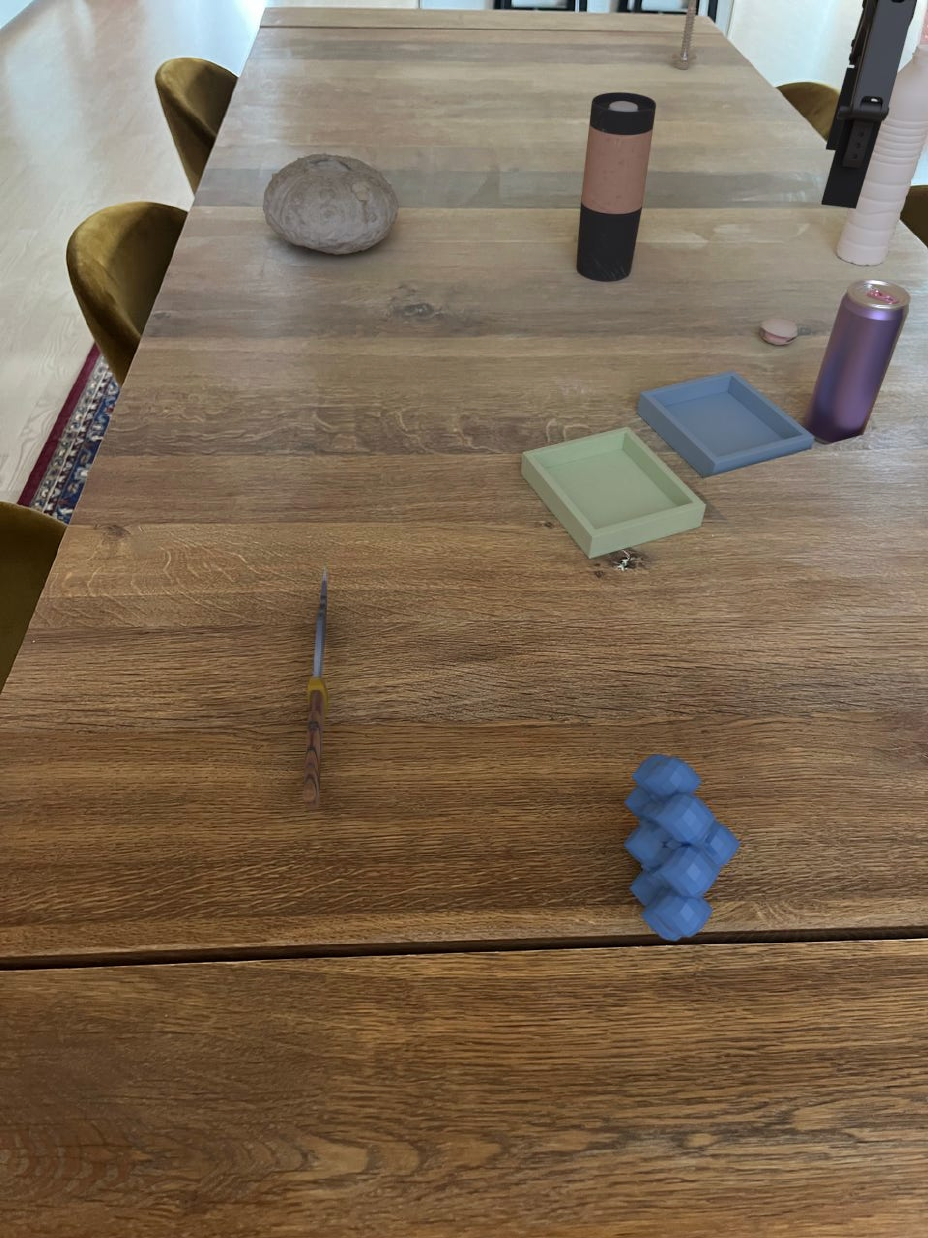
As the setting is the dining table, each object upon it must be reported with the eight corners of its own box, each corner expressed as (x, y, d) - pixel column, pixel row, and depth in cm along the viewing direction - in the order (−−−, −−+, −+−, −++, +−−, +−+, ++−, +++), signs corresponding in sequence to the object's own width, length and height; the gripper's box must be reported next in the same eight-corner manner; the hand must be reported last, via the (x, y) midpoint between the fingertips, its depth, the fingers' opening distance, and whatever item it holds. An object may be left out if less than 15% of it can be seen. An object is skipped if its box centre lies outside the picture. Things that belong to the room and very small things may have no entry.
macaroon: (751, 338, 110) (756, 318, 109) (777, 325, 113) (782, 306, 111) (781, 353, 108) (786, 332, 106) (807, 339, 110) (813, 319, 109)
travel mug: (563, 263, 124) (578, 96, 110) (611, 252, 127) (632, 88, 113) (594, 287, 119) (615, 115, 105) (644, 275, 122) (670, 106, 108)
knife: (319, 586, 79) (313, 541, 75) (336, 586, 79) (331, 540, 76) (304, 843, 62) (296, 799, 58) (326, 841, 62) (318, 798, 58)
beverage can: (836, 455, 94) (886, 314, 83) (789, 427, 97) (831, 288, 87) (873, 435, 96) (926, 296, 86) (826, 409, 100) (872, 272, 89)
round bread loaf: (422, 230, 131) (420, 154, 124) (359, 281, 119) (354, 201, 112) (311, 207, 136) (304, 132, 129) (241, 254, 125) (229, 175, 117)
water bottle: (837, 242, 130) (898, 35, 112) (886, 250, 128) (956, 41, 111) (832, 268, 124) (896, 54, 106) (884, 276, 123) (957, 60, 105)
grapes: (741, 985, 55) (795, 881, 47) (626, 987, 55) (660, 883, 47) (701, 816, 63) (740, 701, 55) (601, 817, 63) (625, 702, 55)
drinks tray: (808, 457, 93) (815, 436, 92) (710, 484, 90) (715, 463, 88) (728, 390, 102) (733, 369, 100) (636, 412, 99) (639, 391, 97)
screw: (684, 62, 192) (699, 68, 189) (665, 65, 190) (680, 71, 187) (696, -13, 183) (712, -8, 180) (676, -11, 181) (692, -5, 178)
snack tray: (700, 526, 85) (706, 504, 84) (589, 559, 82) (592, 537, 80) (624, 447, 94) (627, 425, 92) (520, 473, 91) (522, 451, 89)
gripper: (871, -160, 75) (801, 125, 90) (873, -118, 58) (787, 225, 73) (970, -156, 74) (883, 134, 89) (1003, -111, 57) (888, 238, 72)
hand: (839, 176), depth 81 cm, fingers open, 13 cm apart
